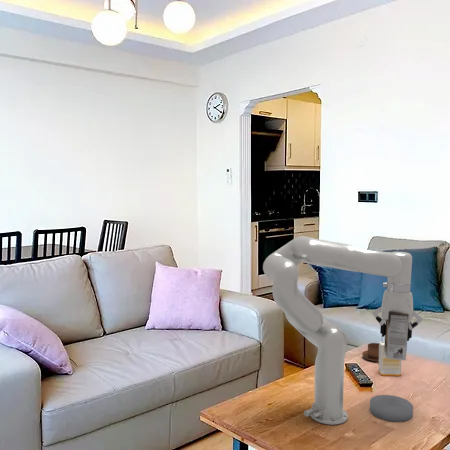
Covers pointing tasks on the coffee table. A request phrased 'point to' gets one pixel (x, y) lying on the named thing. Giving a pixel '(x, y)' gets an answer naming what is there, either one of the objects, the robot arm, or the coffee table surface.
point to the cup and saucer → (372, 352)
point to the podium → (391, 408)
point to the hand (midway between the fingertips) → (395, 337)
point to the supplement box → (388, 363)
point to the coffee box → (396, 335)
